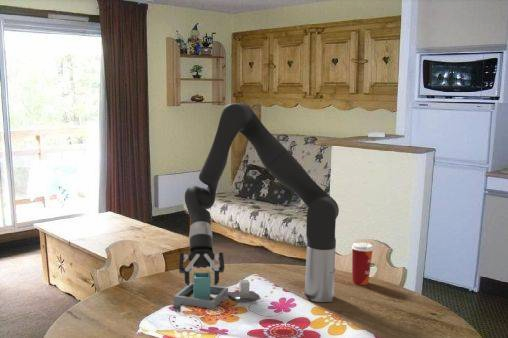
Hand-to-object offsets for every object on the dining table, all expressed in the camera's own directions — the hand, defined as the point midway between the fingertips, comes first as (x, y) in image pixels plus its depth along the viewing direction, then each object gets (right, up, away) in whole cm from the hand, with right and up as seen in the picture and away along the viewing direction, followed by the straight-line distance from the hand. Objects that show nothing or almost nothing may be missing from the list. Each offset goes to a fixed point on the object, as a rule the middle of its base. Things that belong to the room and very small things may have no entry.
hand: (202, 284), depth 157 cm
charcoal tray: (0, -6, +1) cm, 6 cm away
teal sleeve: (0, -5, +1) cm, 5 cm away
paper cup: (+54, -5, +25) cm, 60 cm away
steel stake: (+13, -6, +4) cm, 15 cm away
